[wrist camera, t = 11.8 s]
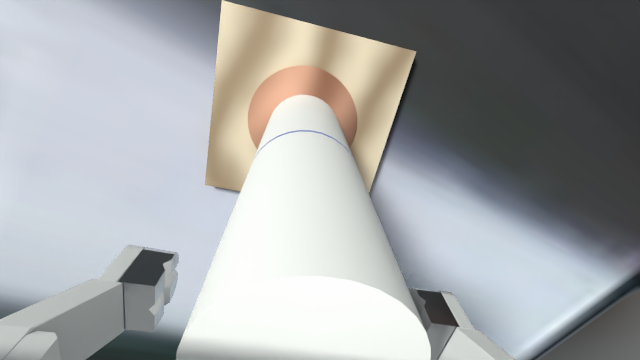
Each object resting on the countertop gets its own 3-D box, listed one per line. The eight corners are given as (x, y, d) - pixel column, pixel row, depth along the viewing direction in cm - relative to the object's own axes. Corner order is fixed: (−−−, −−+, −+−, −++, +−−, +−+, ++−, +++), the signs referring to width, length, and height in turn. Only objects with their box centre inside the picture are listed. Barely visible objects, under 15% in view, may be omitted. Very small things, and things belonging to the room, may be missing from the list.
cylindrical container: (329, 86, 30) (416, 246, 7) (345, 153, 33) (440, 417, 10) (258, 105, 30) (124, 313, 7) (280, 170, 33) (232, 459, 10)
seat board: (411, 51, 30) (416, 51, 29) (360, 207, 37) (362, 214, 36) (226, 2, 28) (221, 0, 26) (208, 179, 35) (204, 185, 33)
